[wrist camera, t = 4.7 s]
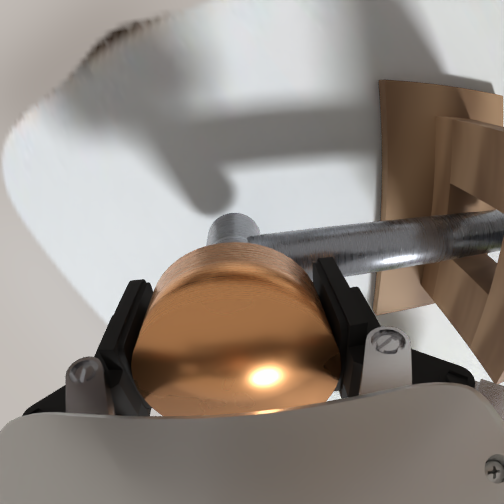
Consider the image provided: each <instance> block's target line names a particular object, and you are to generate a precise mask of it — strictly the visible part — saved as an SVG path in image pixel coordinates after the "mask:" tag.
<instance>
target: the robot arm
mask: <svg viewBox="0 0 504 504" xmlns="http://www.w3.org/2000/svg"><path fill="white" fill-rule="evenodd" d="M313 284H314V286H315V289H316V291H317V294H318V296H319V299H320V301H321V304H322V306H323V309H324V312H325V314H326V317H327V319H328V322H329V325H330V327H331V330H332V333H333V335H334V338H335V341H336V343H337V346H338V349H339V352H340V357H341V373H340V378H339V381H338V383H337V386H336V388H335V389H334V391H338V390H339V392H340V396H341V399H338V400H332V401H327V402H321V403H315V404H309V405H303V406H296V407H288V408H281V409H273V410H264V411H254V412H244V413H232V414H218V415H199V416H158V417H157V416H150V411H151V408H152V407H151V406H150V405H149V404H148V403H147V402H146V401H145V399H144V398H143V397H142V396H141V394H140V392H139V391H138V389H137V387H136V385H135V383H134V380H133V376H132V369H131V361H132V355H133V351H134V348H135V345H136V342H137V339H138V336H139V333H140V330H141V327H142V324H143V321H144V318H145V315H146V312H147V309H148V306H149V303H150V300H151V298H152V295H153V290H152V287H151V284H150V283H149V282H148V283H146V281H145V280H144V279H142V280H133V281H130V282H129V284H128V286H127V288H126V290H125V292H124V294H123V296H122V298H121V300H120V302H119V305H118V307H117V309H116V311H115V313H114V315H113V316H112V318H111V320H110V322H109V324H108V327H107V329H106V331H105V333H104V335H103V338H102V340H101V343H100V345H99V347H98V349H97V352H96V354H95V356H94V357H83V358H81V359H78V360H77V361H75V362H74V363H72V365H71V366H70V367H69V368H68V370H67V372H66V385H65V386H63V387H62V388H60V389H58V390H57V391H55V392H53V393H52V394H50V395H48V396H47V397H45V398H44V399H42V400H40V401H39V402H37V403H35V404H34V405H32V406H31V407H29V408H28V409H27V410H26V411H25V412H24V414H23V415H22V416H21V417H18V418H16V419H14V420H12V421H10V422H9V423H7V424H6V425H5V426H4V428H3V429H2V430H1V431H0V504H504V386H502V385H499V384H495V383H492V382H489V381H486V380H483V379H481V380H480V382H477V381H475V380H474V377H473V375H472V374H471V372H469V371H468V370H467V369H466V368H464V367H461V366H459V365H456V364H453V363H450V362H447V361H444V360H441V359H438V358H436V357H433V356H430V355H427V354H424V353H421V352H419V351H416V350H413V349H411V342H410V339H409V337H408V335H407V334H406V333H405V332H403V331H402V330H400V329H398V328H395V327H390V326H383V327H381V326H380V324H379V323H378V321H377V319H376V317H375V315H374V314H373V312H372V310H371V308H370V306H369V305H368V303H367V301H366V299H365V298H364V296H363V294H362V292H361V291H360V289H359V288H358V287H352V288H350V287H349V285H348V283H347V282H346V280H345V278H344V276H343V274H342V273H341V271H340V269H339V267H338V265H337V264H336V262H335V260H334V258H333V257H325V258H318V259H317V262H316V263H313ZM347 397H349V398H347ZM342 398H343V399H342Z"/></svg>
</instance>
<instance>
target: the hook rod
mask: <svg viewBox="0 0 504 504" xmlns="http://www.w3.org/2000/svg"><path fill="white" fill-rule="evenodd" d="M503 237H504V214H503V213H502V212H500V211H498V210H488V211H477V212H466V213H456V214H446V215H435V216H425V217H415V218H406V219H396V220H387V221H377V222H368V223H359V224H350V225H341V226H332V227H323V228H314V229H305V230H297V231H288V232H280V233H271V234H263V235H260V231H259V228H258V226H257V225H256V223H255V222H254V221H253V220H252V219H251V218H249V217H248V216H246V215H243V214H239V213H229V214H225V215H223V216H221V217H219V218H218V219H216V220H215V221H214V222H213V224H212V225H211V227H210V229H209V233H208V239H207V245H206V246H205V247H202V248H199V249H196V250H194V251H192V252H190V253H188V254H186V255H184V256H183V257H181V258H180V259H178V260H177V261H176V262H174V263H173V264H172V265H171V266H170V267H169V268H168V269H167V270H166V271H165V272H164V274H163V275H162V276H161V278H160V279H159V281H158V283H157V285H156V287H155V289H154V292H153V295H152V298H151V300H150V303H149V306H148V309H147V312H146V315H145V318H144V321H143V324H142V327H141V330H140V333H139V336H138V339H137V342H136V345H135V348H134V351H133V355H132V361H131V369H132V376H133V380H134V383H135V385H136V387H137V389H138V391H139V392H140V394H141V396H142V397H143V398H144V399H145V401H146V402H147V403H148V404H149V405H150V406H151V407H152V408H153V409H154V410H156V411H157V412H158V413H160V414H161V415H162V416H199V415H218V414H232V413H244V412H254V411H264V410H273V409H281V408H288V407H296V406H303V405H309V404H315V403H321V402H326V401H327V399H328V398H329V397H330V396H331V394H332V393H333V391H334V389H335V388H336V386H337V383H338V381H339V378H340V373H341V357H340V352H339V349H338V346H337V343H336V341H335V338H334V335H333V333H332V330H331V327H330V325H329V322H328V319H327V317H326V314H325V312H324V309H323V306H322V304H321V301H320V299H319V296H318V294H317V291H316V289H315V286H314V284H313V282H312V281H313V263H316V262H317V259H318V258H325V257H333V258H334V260H335V262H336V264H337V265H338V267H339V269H340V271H341V273H342V274H343V276H344V277H346V276H353V275H360V274H367V273H373V272H380V271H386V270H392V269H399V268H405V267H411V266H417V265H423V264H429V263H435V262H440V261H446V260H452V259H457V258H463V257H468V256H474V255H479V254H484V253H490V252H495V251H500V250H501V246H502V241H503Z"/></svg>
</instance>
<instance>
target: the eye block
mask: <svg viewBox="0 0 504 504" xmlns="http://www.w3.org/2000/svg"><path fill="white" fill-rule="evenodd" d="M379 92H380V109H381V135H382V194H381V220H380V221H387V220H396V219H406V218H415V217H425V216H435V215H446V214H456V213H466V212H477V211H488V210H496V209H497V210H498V211H500V212H502V213H503V214H504V127H503V96H501V95H496V94H492V93H487V92H481V91H476V90H470V89H465V88H458V87H452V86H444V85H437V84H428V83H419V82H408V81H396V80H379ZM487 254H488V253H484V254H479V255H474V256H468V257H463V258H457V259H452V260H446V261H440V262H435V263H429V264H423V265H417V266H411V267H405V268H399V269H392V270H386V271H380V272H377V274H376V284H375V293H374V302H373V311H374V312H375V314H376V315H382V314H387V313H392V312H397V311H402V310H406V309H411V308H416V307H420V306H425V305H429V304H434V303H436V304H437V306H438V307H439V308H440V309H441V311H442V312H443V313H444V315H445V316H446V317H447V318H448V320H449V321H450V322H451V324H452V325H453V326H454V328H455V329H456V330H457V331H458V333H459V334H460V335H461V337H462V338H463V340H464V341H465V342H466V344H467V345H468V346H469V348H470V349H471V350H472V352H473V353H474V355H475V356H476V357H477V359H478V360H479V362H480V363H481V365H482V366H483V367H484V369H485V370H486V372H487V373H488V375H489V376H490V378H491V379H492V381H493V382H494V383H495V384H500V383H502V382H504V237H503V241H502V246H501V250H500V255H499V259H498V263H496V262H495V261H494V260H493V259H491V258H490V257H489V256H488V255H487Z"/></svg>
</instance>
